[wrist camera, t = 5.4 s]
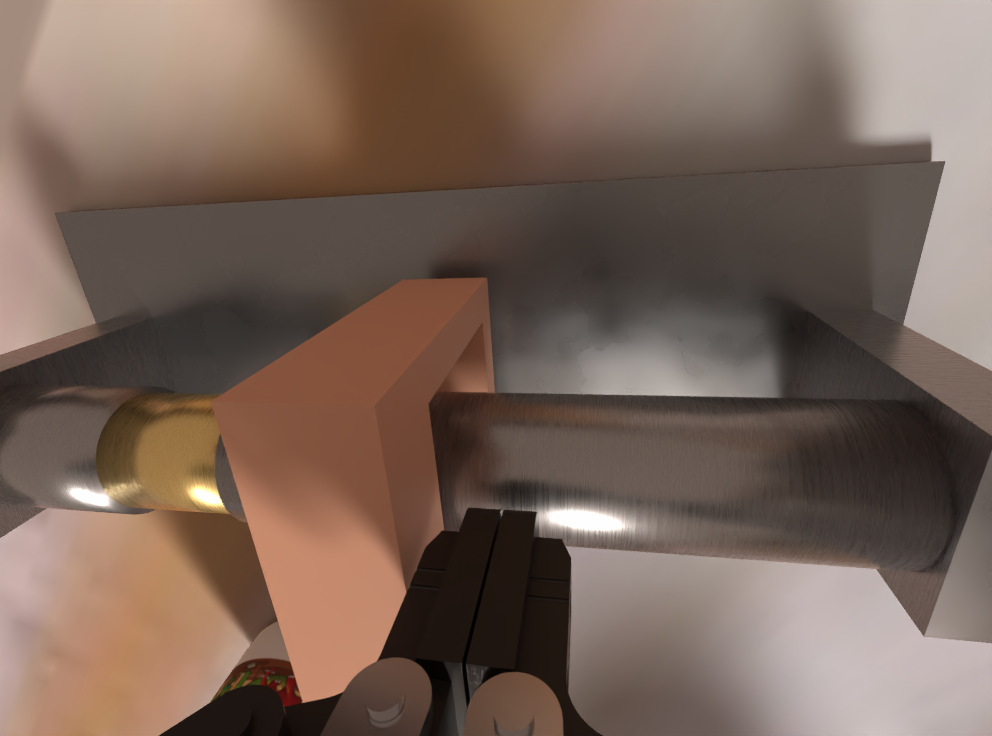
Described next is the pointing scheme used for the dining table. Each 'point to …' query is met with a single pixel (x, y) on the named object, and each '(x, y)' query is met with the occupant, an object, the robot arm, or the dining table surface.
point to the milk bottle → (265, 667)
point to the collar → (352, 466)
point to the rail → (560, 366)
